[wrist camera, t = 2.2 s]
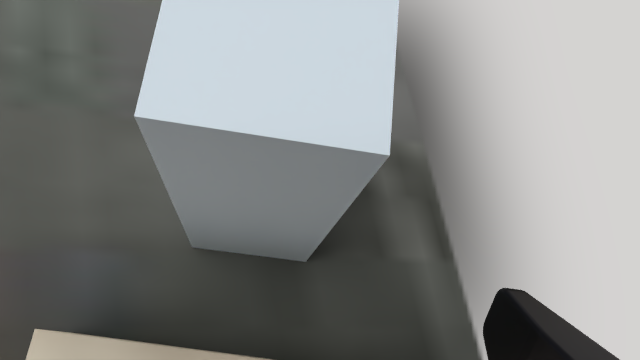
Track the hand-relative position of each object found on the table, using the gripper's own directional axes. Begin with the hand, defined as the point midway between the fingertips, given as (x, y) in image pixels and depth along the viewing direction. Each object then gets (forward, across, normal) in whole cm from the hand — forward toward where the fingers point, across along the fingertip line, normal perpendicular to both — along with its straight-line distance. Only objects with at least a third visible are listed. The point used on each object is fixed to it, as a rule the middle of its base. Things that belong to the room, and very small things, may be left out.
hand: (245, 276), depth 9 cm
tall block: (+11, 0, +5) cm, 12 cm away
